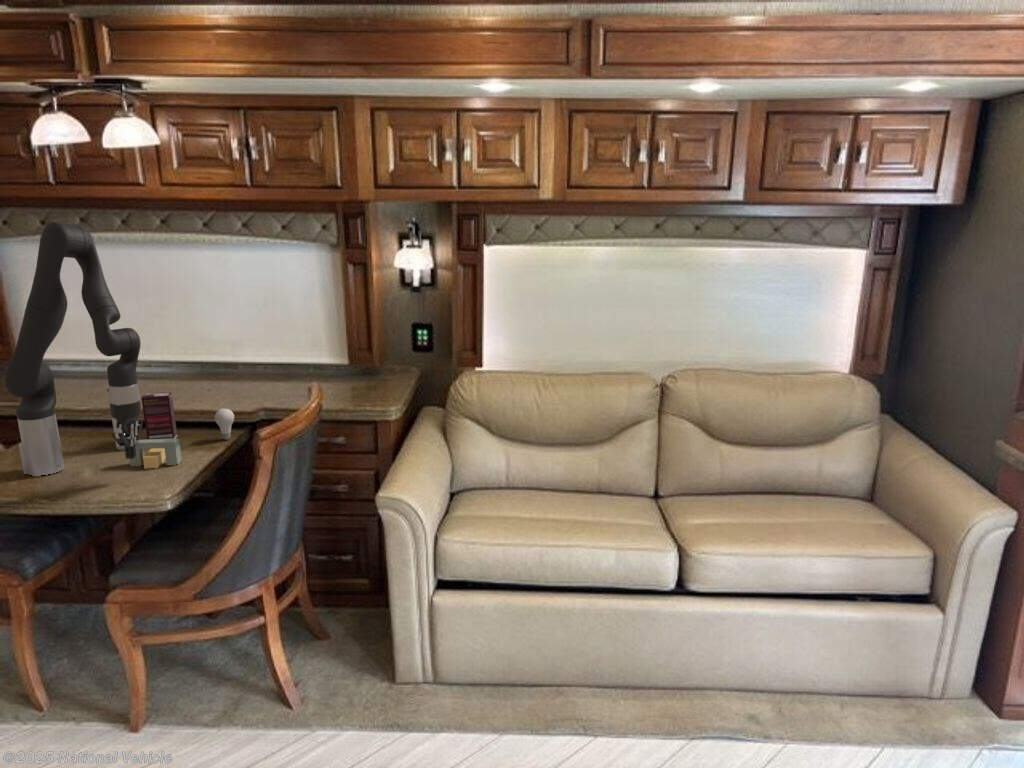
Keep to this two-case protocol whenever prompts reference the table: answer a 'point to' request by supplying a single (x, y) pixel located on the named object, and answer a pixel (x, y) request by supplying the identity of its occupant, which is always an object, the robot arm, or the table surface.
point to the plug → (154, 457)
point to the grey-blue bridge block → (169, 444)
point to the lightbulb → (224, 422)
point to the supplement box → (159, 415)
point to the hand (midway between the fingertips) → (131, 457)
